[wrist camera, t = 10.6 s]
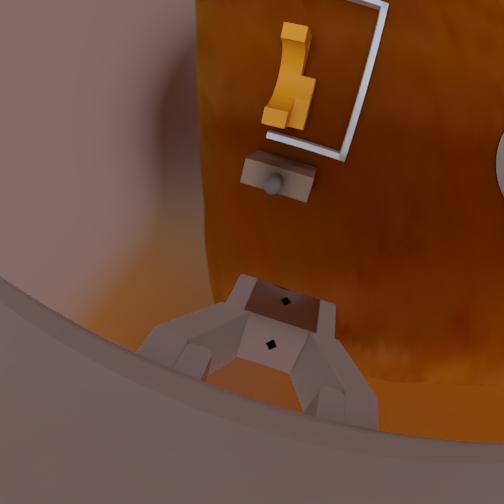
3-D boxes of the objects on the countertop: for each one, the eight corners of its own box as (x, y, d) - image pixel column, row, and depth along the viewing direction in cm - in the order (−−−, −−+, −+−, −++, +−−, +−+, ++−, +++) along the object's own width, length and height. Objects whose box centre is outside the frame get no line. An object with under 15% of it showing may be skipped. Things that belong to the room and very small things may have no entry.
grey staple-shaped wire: (386, 7, 27) (389, 3, 26) (344, 159, 38) (344, 162, 37) (308, -15, 28) (306, -20, 27) (269, 135, 39) (265, 137, 38)
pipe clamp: (304, 127, 38) (300, 133, 32) (271, 119, 38) (261, 123, 33) (326, 40, 32) (324, 30, 26) (291, 33, 32) (284, 21, 27)
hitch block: (316, 167, 40) (312, 185, 32) (310, 188, 41) (303, 211, 33) (257, 149, 41) (238, 163, 33) (252, 170, 42) (232, 189, 34)
